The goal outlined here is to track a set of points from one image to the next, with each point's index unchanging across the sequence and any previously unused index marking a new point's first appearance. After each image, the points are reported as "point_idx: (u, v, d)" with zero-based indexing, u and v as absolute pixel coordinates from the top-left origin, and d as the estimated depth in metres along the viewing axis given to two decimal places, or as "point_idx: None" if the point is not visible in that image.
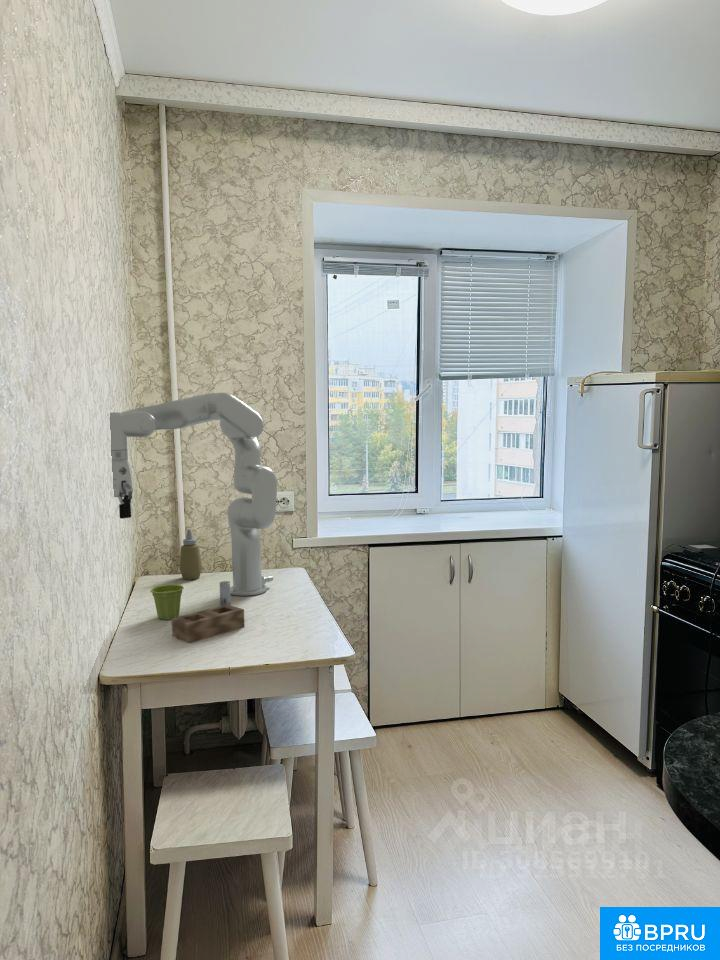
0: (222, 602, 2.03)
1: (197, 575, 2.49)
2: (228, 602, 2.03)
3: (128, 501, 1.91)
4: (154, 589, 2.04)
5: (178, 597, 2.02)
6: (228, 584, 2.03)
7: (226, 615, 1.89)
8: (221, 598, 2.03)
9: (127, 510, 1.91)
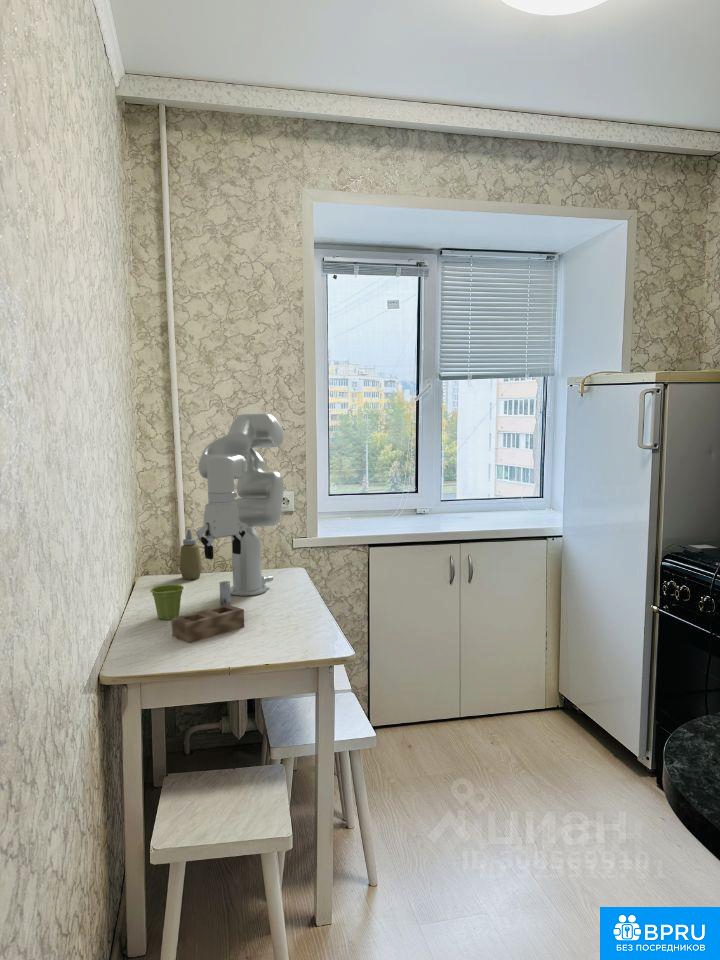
0: (222, 602, 2.03)
1: (197, 575, 2.49)
2: (228, 602, 2.03)
3: None
4: (154, 589, 2.04)
5: (178, 597, 2.02)
6: (228, 584, 2.03)
7: (226, 615, 1.89)
8: (221, 598, 2.03)
9: None
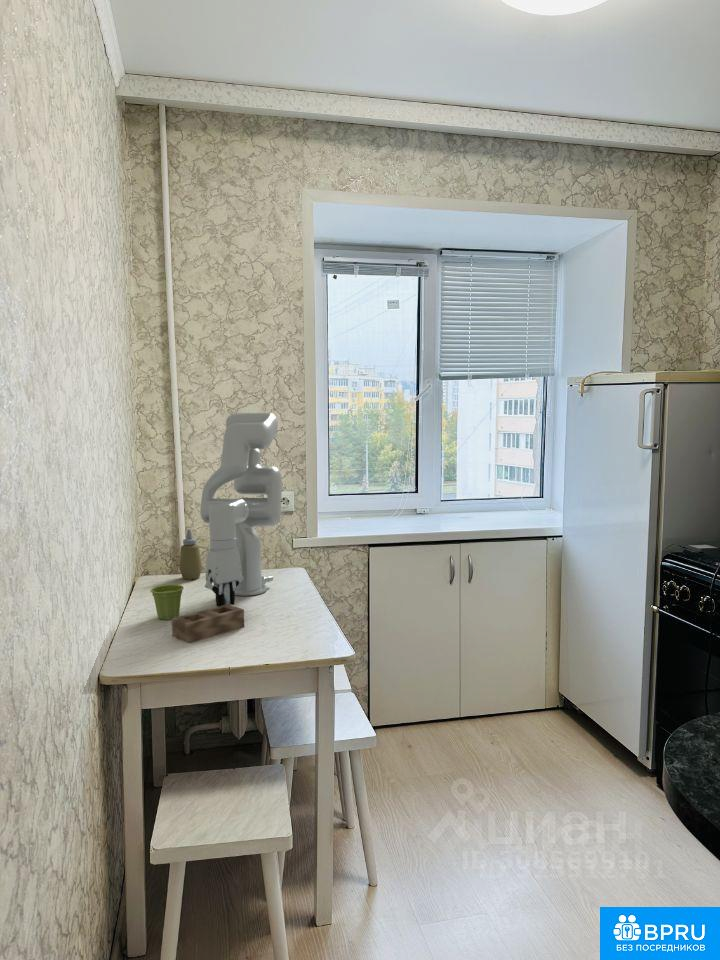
0: None
1: (197, 575, 2.49)
2: (228, 602, 2.03)
3: None
4: (154, 589, 2.04)
5: (178, 597, 2.02)
6: (228, 584, 2.03)
7: (226, 615, 1.89)
8: None
9: None
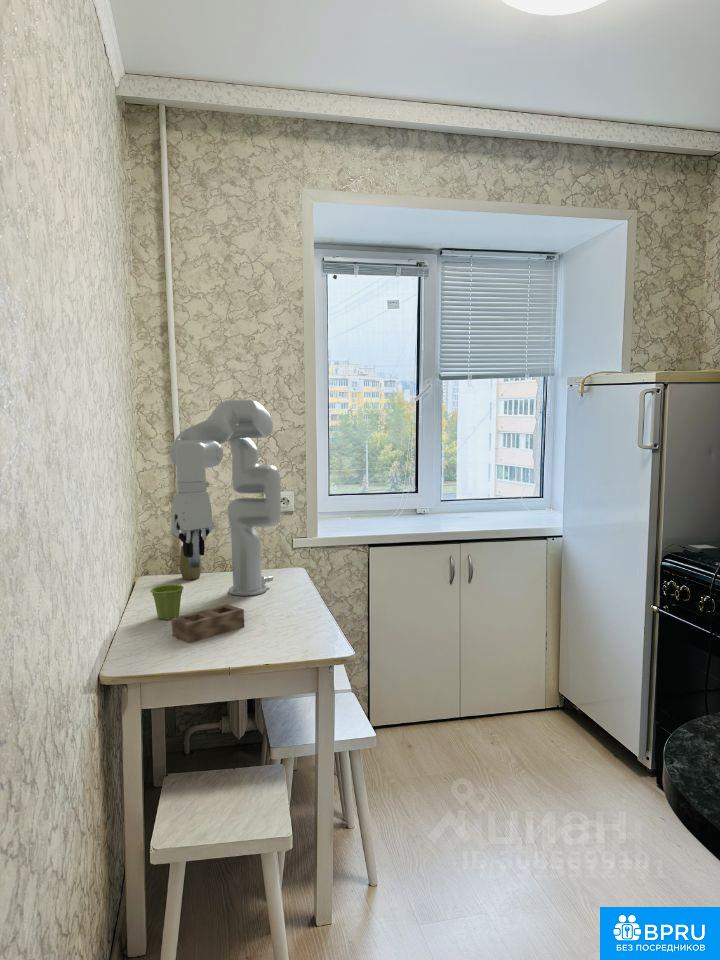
0: None
1: (197, 575, 2.49)
2: (197, 552, 1.84)
3: None
4: (154, 589, 2.04)
5: (178, 597, 2.02)
6: (197, 532, 1.84)
7: (226, 615, 1.89)
8: None
9: None
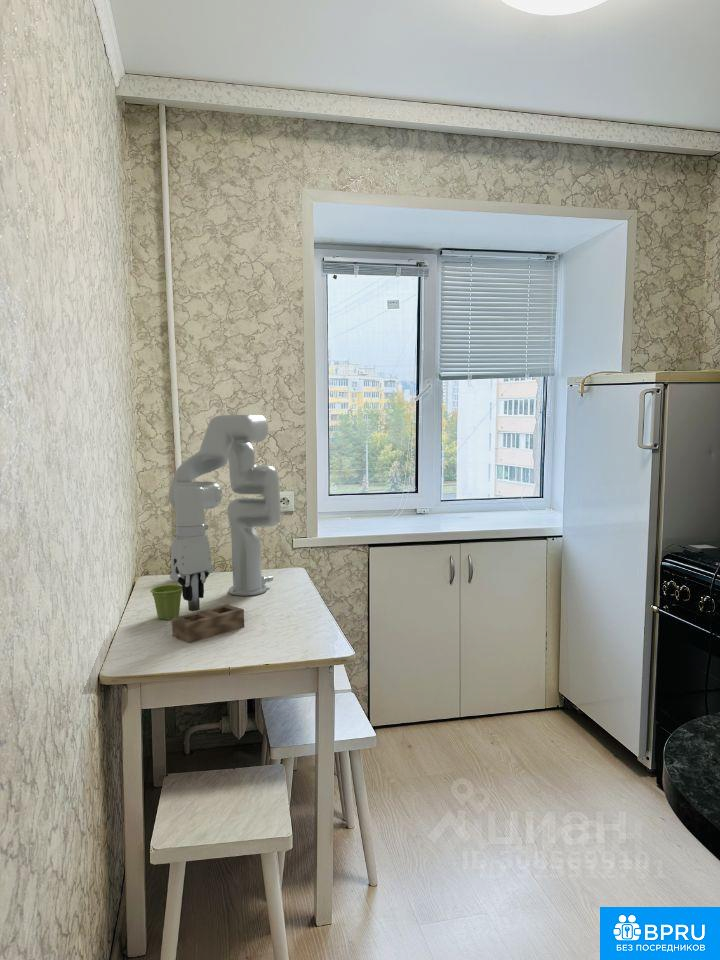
0: None
1: None
2: (196, 595, 1.84)
3: None
4: (154, 589, 2.04)
5: (178, 597, 2.02)
6: (196, 575, 1.84)
7: (226, 615, 1.89)
8: None
9: None
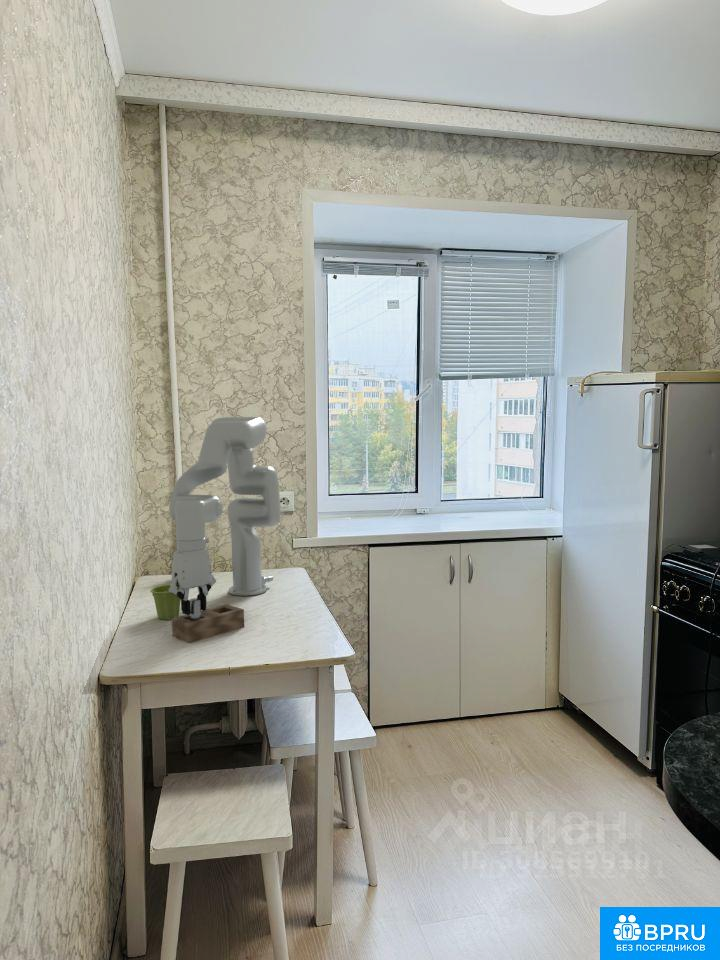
0: None
1: None
2: None
3: None
4: (154, 589, 2.04)
5: None
6: (199, 601, 1.85)
7: (226, 615, 1.89)
8: (191, 617, 1.85)
9: None
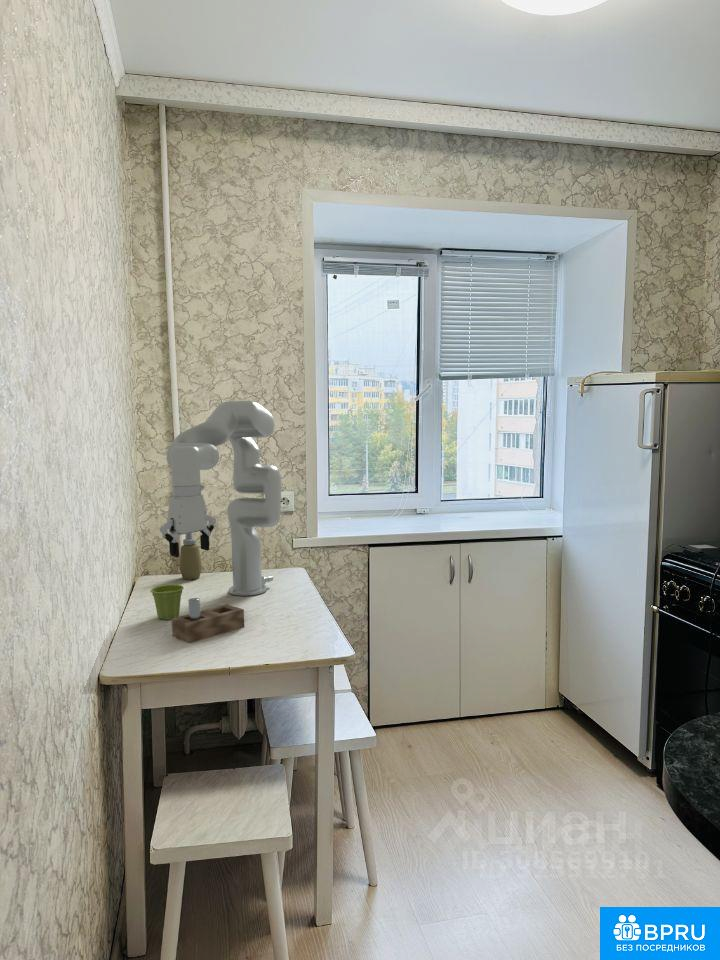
0: None
1: (197, 575, 2.49)
2: None
3: None
4: (154, 589, 2.04)
5: (178, 597, 2.02)
6: (198, 601, 1.85)
7: (226, 615, 1.89)
8: (190, 617, 1.85)
9: None
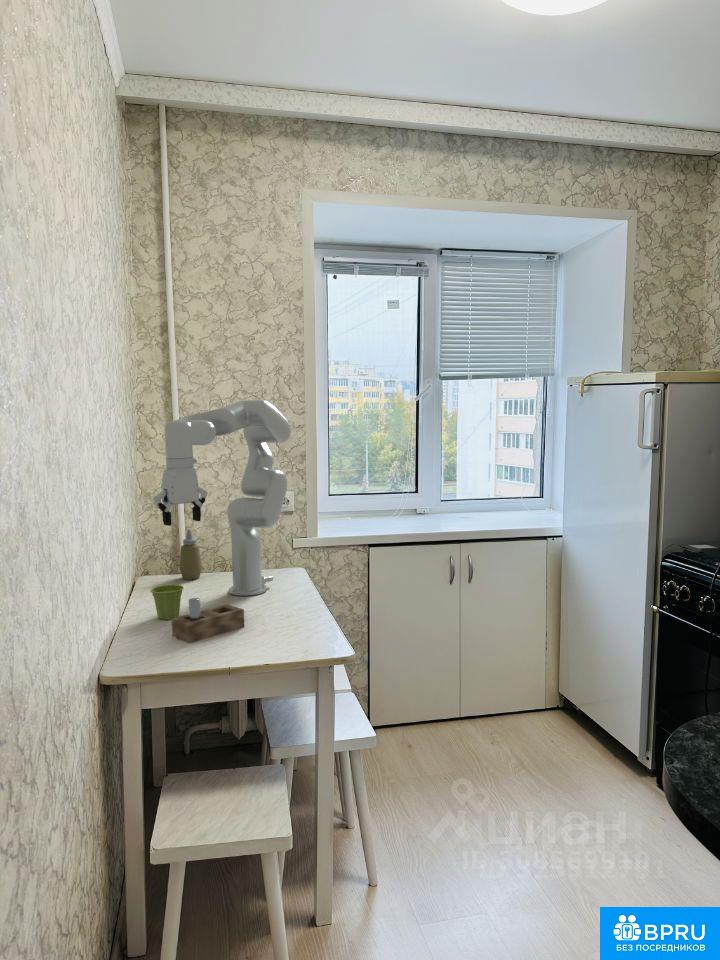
0: None
1: (197, 575, 2.49)
2: None
3: None
4: (154, 589, 2.04)
5: (178, 597, 2.02)
6: (198, 601, 1.85)
7: (226, 615, 1.89)
8: (190, 617, 1.85)
9: None
